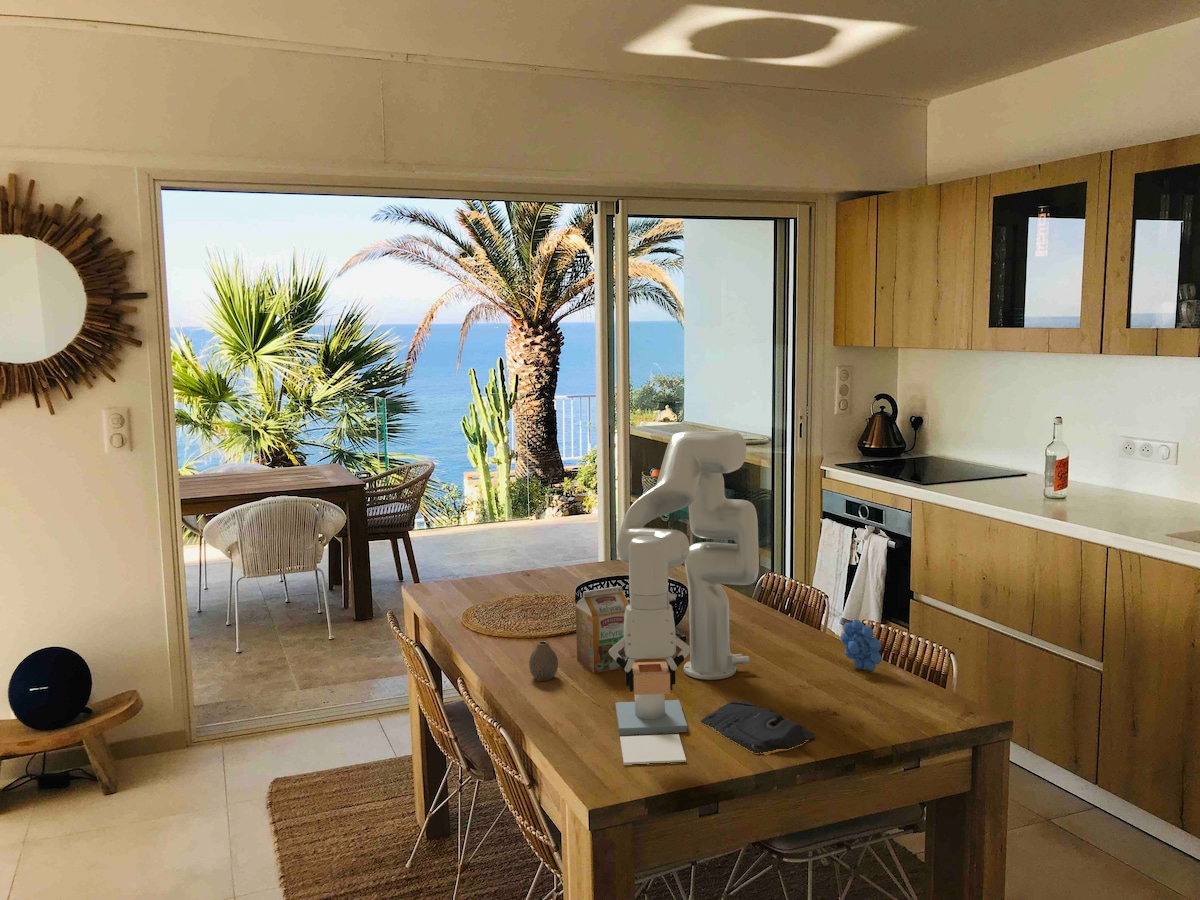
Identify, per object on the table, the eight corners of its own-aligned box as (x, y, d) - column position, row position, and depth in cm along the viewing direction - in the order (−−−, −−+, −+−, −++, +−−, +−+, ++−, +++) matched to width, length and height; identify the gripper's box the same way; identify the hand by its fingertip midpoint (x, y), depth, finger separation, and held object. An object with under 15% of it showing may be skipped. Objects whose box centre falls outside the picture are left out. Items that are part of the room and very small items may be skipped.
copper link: (666, 680, 198) (666, 661, 198) (670, 693, 191) (670, 673, 191) (631, 682, 198) (631, 662, 197) (634, 695, 191) (633, 674, 190)
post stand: (679, 706, 218) (678, 656, 217) (687, 732, 205) (686, 678, 203) (615, 709, 218) (614, 658, 216) (619, 735, 204) (618, 681, 203)
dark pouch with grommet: (751, 707, 218) (751, 687, 217) (821, 742, 199) (821, 720, 198) (694, 723, 210) (694, 702, 210) (761, 761, 191) (761, 738, 191)
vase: (554, 684, 234) (553, 648, 233) (526, 682, 236) (525, 646, 234) (561, 673, 241) (560, 638, 240) (534, 672, 242) (532, 637, 241)
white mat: (678, 736, 203) (678, 734, 202) (686, 762, 191) (686, 759, 191) (620, 739, 202) (619, 736, 202) (623, 765, 190) (623, 762, 190)
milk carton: (594, 673, 241) (591, 596, 238) (577, 660, 250) (574, 586, 248) (633, 665, 245) (631, 591, 243) (615, 653, 255) (613, 581, 252)
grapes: (829, 667, 240) (829, 618, 239) (847, 660, 245) (848, 613, 243) (869, 679, 231) (869, 630, 230) (887, 673, 235) (887, 624, 234)
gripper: (691, 593, 196) (692, 680, 199) (603, 596, 196) (605, 683, 198) (696, 604, 189) (697, 694, 191) (605, 607, 188) (607, 697, 191)
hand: (650, 687), depth 195 cm, fingers closed on copper link, 7 cm apart
